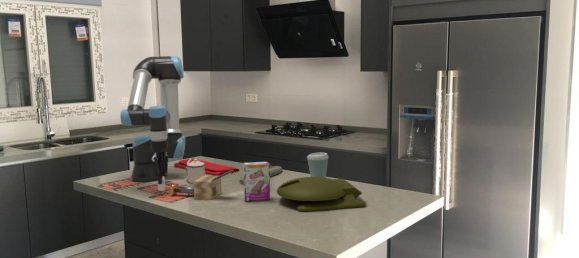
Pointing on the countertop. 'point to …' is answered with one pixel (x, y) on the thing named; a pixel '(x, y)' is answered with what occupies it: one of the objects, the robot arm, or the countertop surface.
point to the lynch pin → (180, 189)
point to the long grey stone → (273, 171)
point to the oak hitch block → (207, 187)
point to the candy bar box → (256, 181)
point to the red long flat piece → (208, 167)
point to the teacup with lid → (195, 170)
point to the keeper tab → (222, 175)
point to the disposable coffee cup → (318, 164)
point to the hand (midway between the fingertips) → (161, 190)
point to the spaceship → (321, 193)
